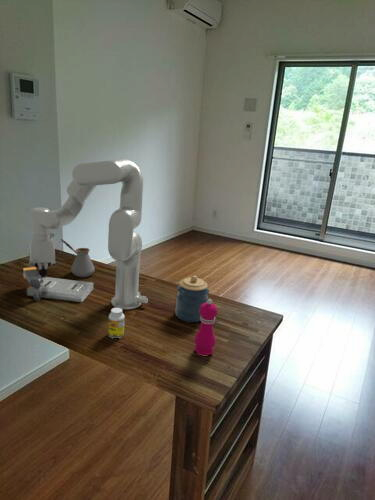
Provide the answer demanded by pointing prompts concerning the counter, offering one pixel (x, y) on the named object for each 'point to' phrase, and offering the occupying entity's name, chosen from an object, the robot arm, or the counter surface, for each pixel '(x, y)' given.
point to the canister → (191, 298)
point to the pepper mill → (206, 329)
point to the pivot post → (37, 294)
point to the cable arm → (33, 277)
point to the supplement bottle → (116, 323)
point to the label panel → (63, 289)
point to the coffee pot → (81, 262)
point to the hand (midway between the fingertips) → (43, 276)
